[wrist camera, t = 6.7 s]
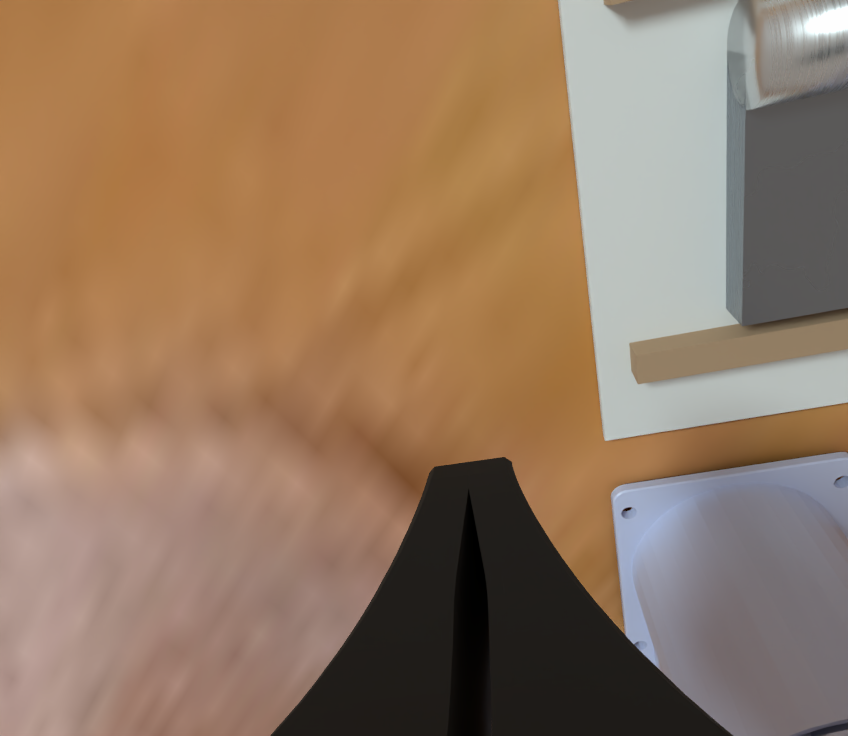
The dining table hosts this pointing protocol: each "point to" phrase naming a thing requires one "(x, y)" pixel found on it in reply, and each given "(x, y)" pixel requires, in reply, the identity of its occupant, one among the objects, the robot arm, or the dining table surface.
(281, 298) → the dining table surface
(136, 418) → the dining table surface
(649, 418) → the hinge jig
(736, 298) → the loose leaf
